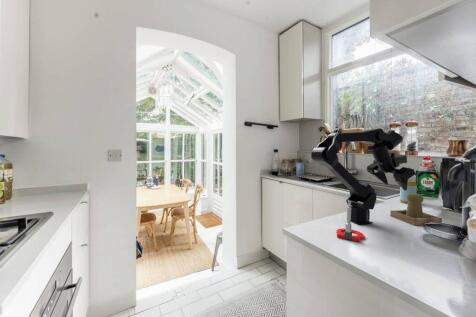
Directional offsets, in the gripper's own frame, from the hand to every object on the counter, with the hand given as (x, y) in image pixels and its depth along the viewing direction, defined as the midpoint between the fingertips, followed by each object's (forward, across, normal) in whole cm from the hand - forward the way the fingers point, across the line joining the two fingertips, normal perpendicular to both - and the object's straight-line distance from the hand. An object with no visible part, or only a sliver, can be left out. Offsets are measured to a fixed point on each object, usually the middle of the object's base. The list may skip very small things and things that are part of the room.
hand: (395, 186), depth 90 cm
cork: (+14, -5, +3) cm, 15 cm away
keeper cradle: (+14, -5, +2) cm, 15 cm away
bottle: (+28, +20, -16) cm, 38 cm away
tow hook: (-6, -16, +33) cm, 37 cm away
